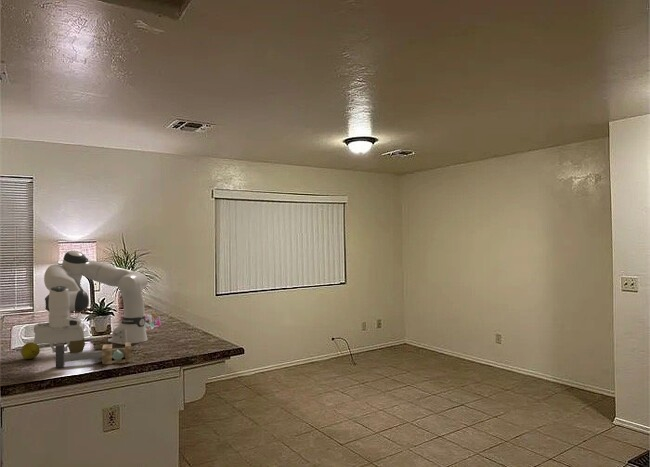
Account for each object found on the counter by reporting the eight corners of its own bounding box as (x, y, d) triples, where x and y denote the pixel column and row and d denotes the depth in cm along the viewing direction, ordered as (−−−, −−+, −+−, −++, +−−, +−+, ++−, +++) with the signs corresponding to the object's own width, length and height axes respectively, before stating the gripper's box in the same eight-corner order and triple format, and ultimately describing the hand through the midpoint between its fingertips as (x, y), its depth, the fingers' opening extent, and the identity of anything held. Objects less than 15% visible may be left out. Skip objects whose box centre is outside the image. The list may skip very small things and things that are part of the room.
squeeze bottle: (87, 349, 250) (87, 316, 250) (80, 353, 242) (80, 318, 242) (72, 350, 250) (72, 316, 250) (64, 354, 242) (64, 319, 242)
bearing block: (102, 364, 220) (102, 348, 220) (103, 360, 229) (103, 344, 229) (131, 361, 225) (130, 346, 225) (131, 357, 233) (130, 342, 233)
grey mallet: (55, 368, 215) (55, 346, 215) (57, 365, 219) (57, 343, 219) (109, 362, 223) (109, 341, 223) (110, 359, 228) (109, 339, 228)
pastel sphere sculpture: (124, 325, 318) (124, 312, 318) (161, 323, 326) (161, 310, 326) (121, 333, 295) (121, 318, 295) (161, 330, 302) (160, 315, 302)
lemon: (21, 357, 235) (20, 341, 235) (39, 355, 240) (39, 339, 240) (21, 362, 226) (20, 346, 226) (39, 360, 231) (39, 343, 231)
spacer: (111, 357, 224) (117, 351, 224) (112, 354, 228) (117, 349, 229) (118, 362, 225) (123, 356, 226) (118, 359, 229) (124, 353, 230)
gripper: (32, 325, 211) (32, 355, 211) (83, 321, 218) (83, 350, 218) (34, 322, 216) (35, 352, 216) (84, 319, 224) (84, 347, 224)
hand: (60, 351), depth 218 cm, fingers closed on grey mallet, 3 cm apart
